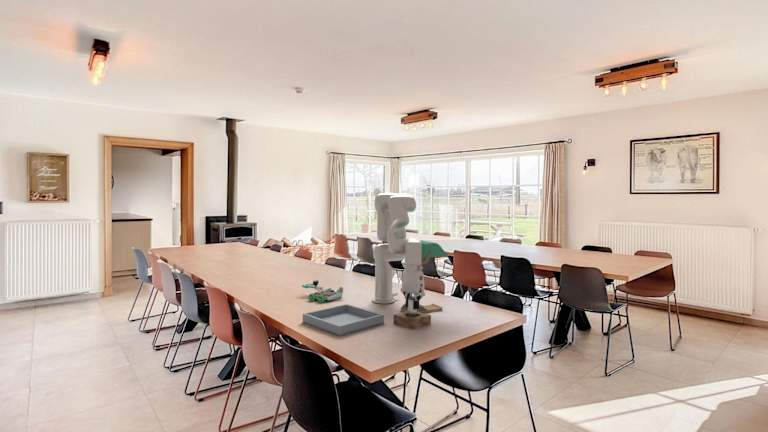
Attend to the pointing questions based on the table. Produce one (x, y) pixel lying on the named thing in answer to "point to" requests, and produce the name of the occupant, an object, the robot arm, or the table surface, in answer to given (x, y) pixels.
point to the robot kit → (323, 292)
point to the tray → (343, 319)
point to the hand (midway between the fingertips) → (412, 307)
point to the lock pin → (411, 307)
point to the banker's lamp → (427, 251)
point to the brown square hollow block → (412, 320)
